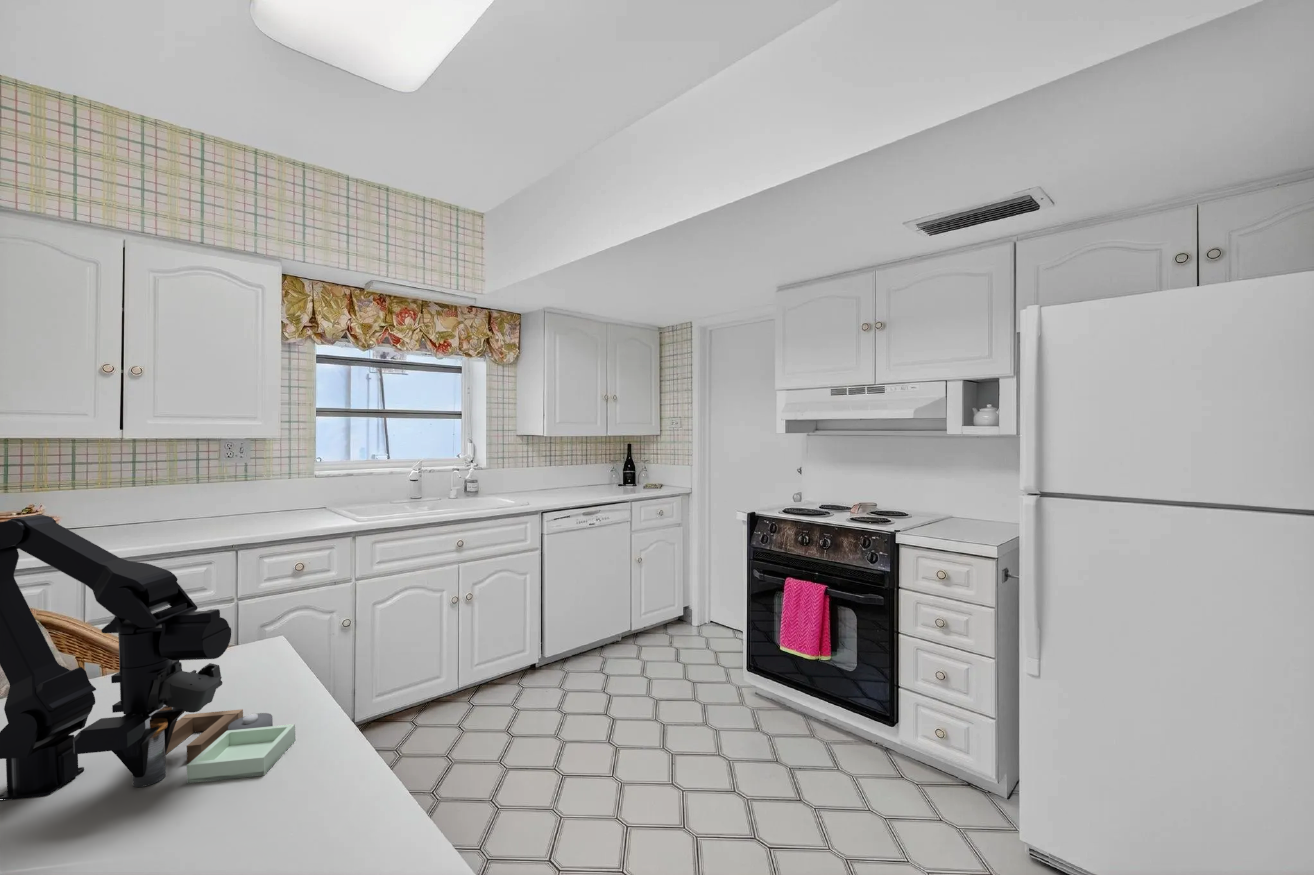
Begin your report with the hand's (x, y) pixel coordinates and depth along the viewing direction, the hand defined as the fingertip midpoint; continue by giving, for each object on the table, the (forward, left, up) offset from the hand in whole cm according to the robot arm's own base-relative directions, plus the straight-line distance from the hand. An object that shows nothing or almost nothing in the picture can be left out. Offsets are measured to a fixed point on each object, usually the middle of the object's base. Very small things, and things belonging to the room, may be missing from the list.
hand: (149, 768), depth 85 cm
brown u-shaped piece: (0, +10, -2) cm, 10 cm away
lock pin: (0, 0, -2) cm, 2 cm away
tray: (+11, +3, -2) cm, 11 cm away
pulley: (+8, +11, -2) cm, 14 cm away
